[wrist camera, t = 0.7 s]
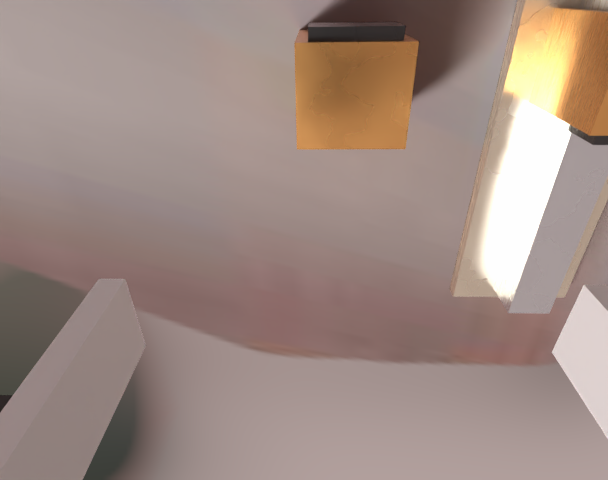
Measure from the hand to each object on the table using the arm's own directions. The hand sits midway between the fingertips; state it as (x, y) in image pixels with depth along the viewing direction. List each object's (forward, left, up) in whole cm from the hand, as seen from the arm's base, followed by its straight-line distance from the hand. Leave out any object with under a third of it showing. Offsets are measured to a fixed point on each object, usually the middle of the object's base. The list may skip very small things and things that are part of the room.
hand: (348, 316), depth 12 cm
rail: (+1, +15, -18) cm, 23 cm away
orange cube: (-4, +1, -18) cm, 18 cm away
